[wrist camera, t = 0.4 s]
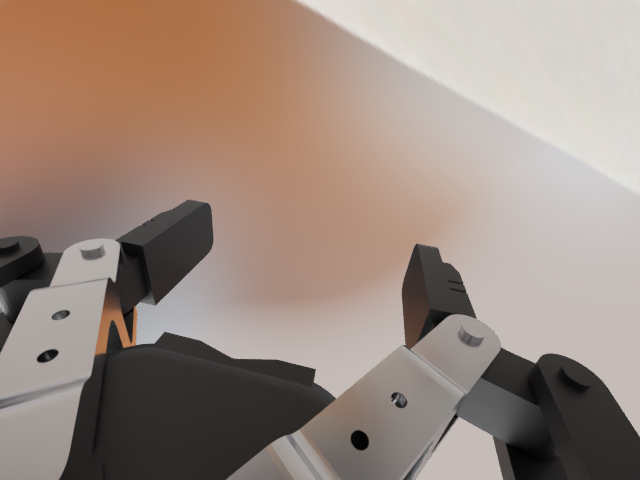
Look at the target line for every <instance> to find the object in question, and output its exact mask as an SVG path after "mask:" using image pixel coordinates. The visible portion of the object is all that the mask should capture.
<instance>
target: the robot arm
mask: <svg viewBox="0 0 640 480" xmlns="http://www.w3.org/2000/svg"><path fill="white" fill-rule="evenodd" d="M212 245H213V227H212V214H211V207H210V205H209V204H208V203H204V202H198V201H194V200H187V201H186V202H184V203H182V204H180V205H179V206H177V207H176V208H174V209H172V210H169V211H166V212H163V213H160V214H158V215H157V216H155V217H153V218H152V219H151V220H150V221H149V220H148V221H147V222H145V223H143V224H142V226H138V227H137V228H135V229H133V230H132V231H130V232H129V233H127V234H125V235H123V236H122V237H120V238H119V239H117V240H111V239H91V240H86V241H82V242H80V243H77V244H74V245H72V246H71V247H69V248H68V249H66V250H65V252H64V253H43V251H42V249H41V246H40V244H39V241H38V240H37V239H35V238H32V237H26V236H18V237H9V238H3V239H0V307H1V309H2V311H3V312H2V313H0V480H415V479H416V478H417V476H418V475H419V473H420V472H421V470H422V469H423V467H424V466H425V464H426V463H427V461H428V460H429V459H430V457H431V456H432V454H433V453H434V452H435V450H436V449H437V447H438V446H439V445H440V443H441V442H442V440H443V439H444V437H445V436H446V435H447V434H448V432H449V431H450V429H451V428H452V427H453V425H454V424H455V422H456V421H457V420H458V418H459V417H460V418H462V419H464V420H466V421H468V422H469V423H471V424H473V425H475V426H477V427H478V428H480V429H482V430H484V431H486V432H488V433H489V434H491V435H493V439H494V443H495V447H496V452H497V455H498V460H499V464H500V468H501V472H502V476H503V480H640V437H639V435H638V434H637V432H636V431H635V429H634V428H633V426H632V424H631V423H630V421H629V420H628V418H627V417H626V416H625V414H624V412H623V411H622V409H621V408H620V406H619V405H618V403H617V402H616V400H615V399H614V397H613V395H612V394H611V392H610V391H609V389H608V388H607V387H606V385H605V384H604V383H603V382H602V380H600V379H599V378H598V377H597V376H596V375H595V374H594V373H593V372H592V371H590V370H589V369H588V368H586V367H585V366H583V365H582V364H580V363H578V362H576V361H574V360H572V359H570V358H568V357H565V356H562V355H558V354H545V355H543V356H541V357H540V359H539V360H538V361H537V363H536V364H535V363H533V362H531V361H529V360H526V359H524V358H522V357H519V356H517V355H515V354H513V353H511V352H509V351H507V350H505V349H503V348H501V343H500V340H499V338H498V337H497V335H496V334H495V332H494V331H493V330H492V329H491V328H490V327H488V326H487V325H486V324H484V323H483V322H481V321H479V320H477V318H476V316H475V313H474V310H473V308H472V305H471V303H470V300H469V297H468V295H467V293H466V289H465V287H464V285H463V281H462V279H461V276H460V273H459V272H458V271H457V270H456V269H455V268H454V267H453V266H452V265H451V264H448V263H443V262H442V259H441V256H440V253H439V250H438V248H436V247H431V246H426V245H420V244H416V245H415V247H414V249H413V252H412V255H411V259H410V262H409V265H408V268H407V271H406V274H405V277H404V282H403V286H402V303H403V316H404V330H405V341H406V346H405V345H402V346H400V347H398V348H397V349H396V350H395V351H393V352H392V353H391V354H390V355H389V356H387V357H386V358H385V359H384V360H383V361H381V362H380V363H379V364H378V365H377V366H375V367H374V368H373V369H372V370H371V371H369V372H368V373H367V374H366V375H365V376H363V377H362V378H361V379H360V380H359V381H357V382H356V383H355V384H354V385H353V386H351V387H350V388H349V389H348V390H346V391H345V392H344V393H343V394H342V395H340V396H339V397H338V398H337V399H336V398H335V397H333V396H332V395H331V394H330V393H329V392H328V391H326V390H325V389H324V388H322V387H321V386H319V385H317V384H316V383H314V377H315V370H316V369H312V368H308V367H304V366H300V365H296V364H292V363H288V362H284V361H280V360H261V359H233V358H231V357H229V356H227V355H225V354H223V353H221V352H220V351H218V350H216V349H214V348H212V347H211V346H209V345H207V344H205V343H203V342H201V341H199V340H195V339H191V338H187V337H183V336H178V335H175V334H171V333H167V332H164V334H163V335H162V336H161V337H160V338H159V339H158V340H157V341H156V343H155V344H141V345H136V333H137V310H136V305H137V304H138V303H139V302H142V303H147V304H151V305H156V304H157V303H158V302H159V301H160V300H161V299H163V297H164V296H166V295H167V294H168V293H169V292H170V291H171V290H172V289H173V288H174V287H175V286H176V285H177V284H178V283H179V282H180V281H181V280H182V279H183V278H184V277H185V276H186V275H187V274H188V273H189V272H190V271H191V270H192V269H193V268H194V267H195V266H196V265H197V264H198V263H199V262H200V261H201V260H202V259H203V258H204V257H205V256H206V255H207V254H208V253H209V251H210V250H211V248H212Z"/></svg>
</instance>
